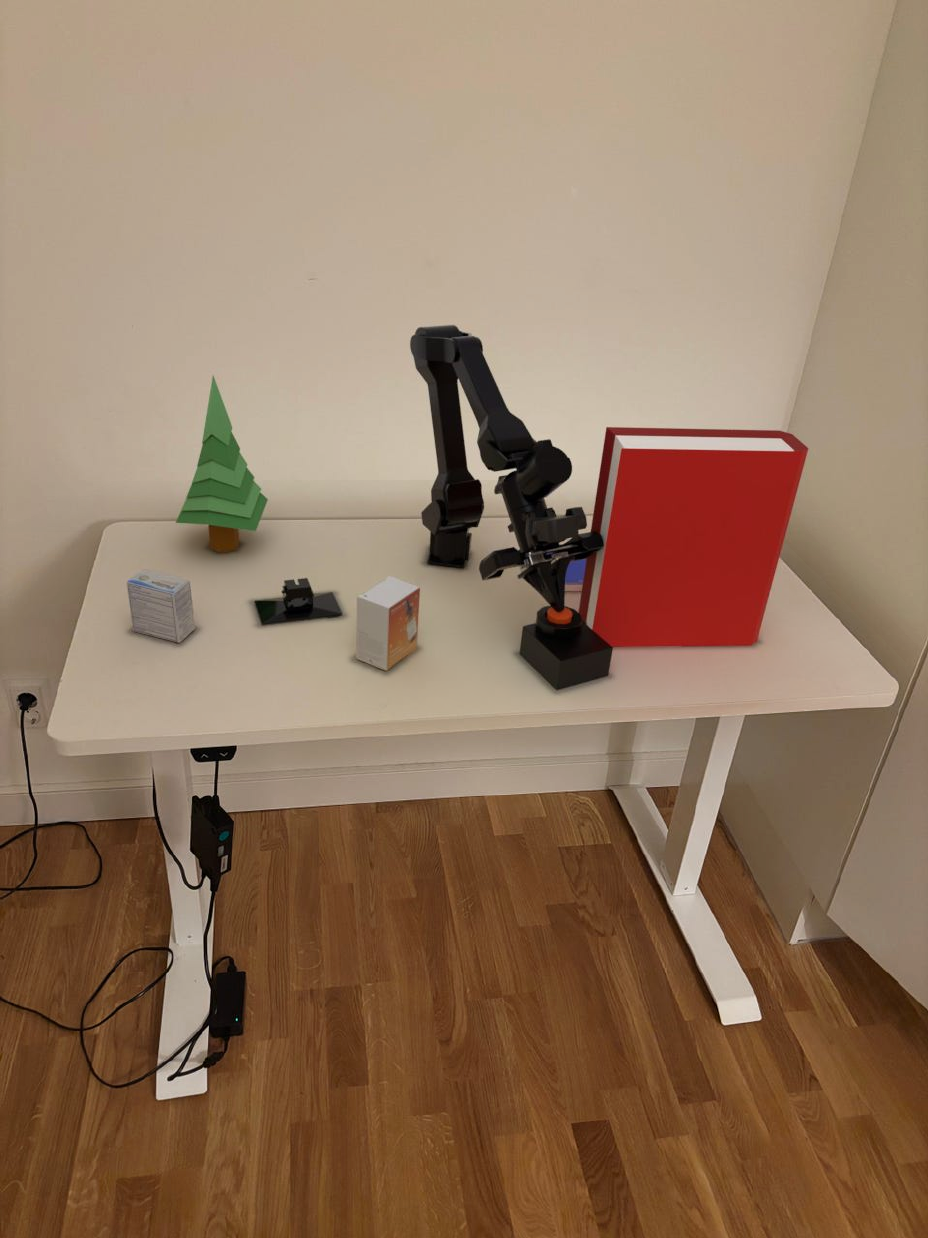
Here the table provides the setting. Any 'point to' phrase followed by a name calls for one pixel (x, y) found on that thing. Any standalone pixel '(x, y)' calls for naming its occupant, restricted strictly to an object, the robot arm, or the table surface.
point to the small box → (387, 622)
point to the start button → (559, 616)
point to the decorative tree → (222, 483)
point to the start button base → (565, 650)
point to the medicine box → (161, 605)
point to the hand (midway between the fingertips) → (560, 610)
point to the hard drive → (575, 575)
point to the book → (688, 534)
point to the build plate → (297, 604)
